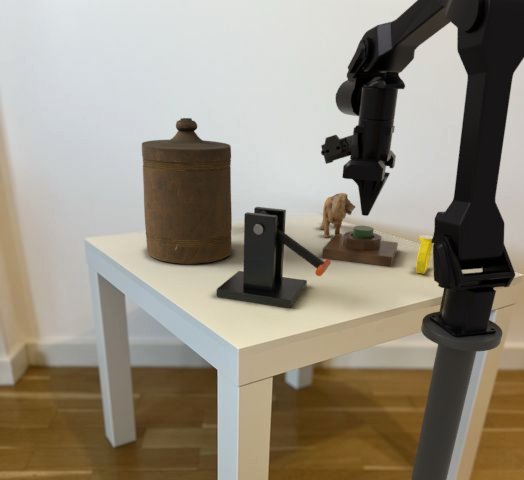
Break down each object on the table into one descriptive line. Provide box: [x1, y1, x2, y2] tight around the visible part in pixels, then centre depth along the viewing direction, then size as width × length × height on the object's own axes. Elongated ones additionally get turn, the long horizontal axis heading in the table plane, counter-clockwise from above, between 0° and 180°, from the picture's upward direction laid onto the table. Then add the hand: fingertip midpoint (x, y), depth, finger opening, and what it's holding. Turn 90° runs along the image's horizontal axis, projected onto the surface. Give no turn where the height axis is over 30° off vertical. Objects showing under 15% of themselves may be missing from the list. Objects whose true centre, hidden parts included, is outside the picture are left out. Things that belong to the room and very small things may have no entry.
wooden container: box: [141, 117, 233, 265], centre depth 92 cm, size 15×15×22 cm
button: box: [352, 225, 374, 239], centre depth 98 cm, size 4×4×2 cm
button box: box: [321, 230, 399, 267], centre depth 99 cm, size 12×10×4 cm
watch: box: [415, 234, 433, 275], centre depth 90 cm, size 6×3×6 cm, turn 156°
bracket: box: [216, 206, 308, 309], centre depth 78 cm, size 11×9×12 cm
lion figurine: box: [318, 192, 356, 238], centre depth 111 cm, size 15×5×9 cm, turn 8°
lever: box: [259, 211, 331, 277], centre depth 76 cm, size 12×5×2 cm, turn 71°
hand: (365, 215), depth 96 cm, fingers closed
